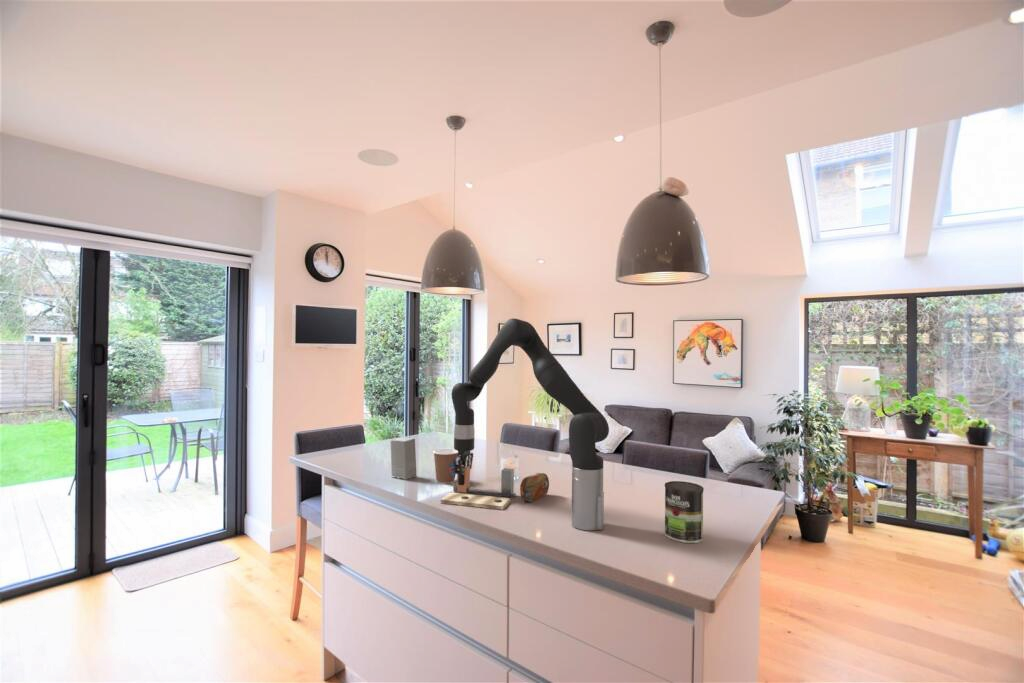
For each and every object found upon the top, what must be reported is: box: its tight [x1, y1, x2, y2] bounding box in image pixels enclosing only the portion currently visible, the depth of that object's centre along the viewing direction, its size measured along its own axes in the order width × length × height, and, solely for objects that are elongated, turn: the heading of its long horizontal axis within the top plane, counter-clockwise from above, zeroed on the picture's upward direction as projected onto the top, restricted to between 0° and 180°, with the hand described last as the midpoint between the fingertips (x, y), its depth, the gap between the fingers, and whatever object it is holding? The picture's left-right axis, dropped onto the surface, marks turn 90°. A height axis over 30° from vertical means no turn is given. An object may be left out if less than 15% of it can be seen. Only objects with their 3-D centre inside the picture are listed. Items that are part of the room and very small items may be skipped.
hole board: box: [440, 492, 511, 511], centre depth 158 cm, size 22×9×1 cm, turn 74°
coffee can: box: [664, 480, 705, 544], centre depth 130 cm, size 10×10×14 cm
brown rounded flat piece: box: [519, 472, 550, 503], centre depth 163 cm, size 15×3×8 cm, turn 143°
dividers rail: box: [452, 467, 517, 499], centre depth 168 cm, size 23×4×9 cm, turn 74°
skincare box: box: [390, 437, 417, 480], centre depth 190 cm, size 8×7×16 cm
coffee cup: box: [433, 448, 458, 484], centre depth 185 cm, size 10×10×12 cm
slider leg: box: [456, 465, 471, 494], centre depth 171 cm, size 4×4×9 cm
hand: (463, 483), depth 171 cm, fingers closed on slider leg, 3 cm apart
